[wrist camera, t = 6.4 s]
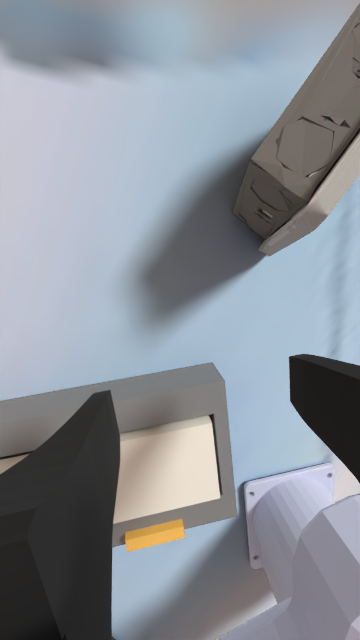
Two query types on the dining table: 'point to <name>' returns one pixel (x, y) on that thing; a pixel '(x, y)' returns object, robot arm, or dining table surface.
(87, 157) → the dining table surface
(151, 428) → the right button
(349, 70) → the electrical switch
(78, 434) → the robot arm
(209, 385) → the switch unit
